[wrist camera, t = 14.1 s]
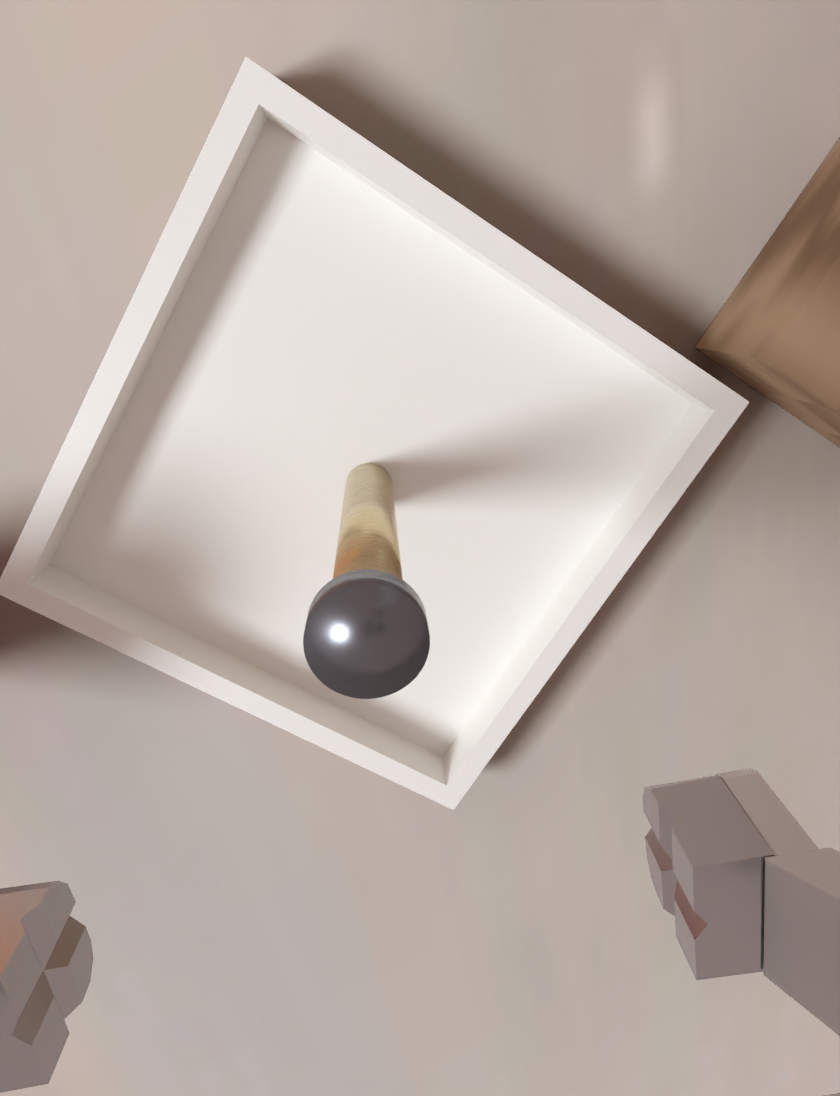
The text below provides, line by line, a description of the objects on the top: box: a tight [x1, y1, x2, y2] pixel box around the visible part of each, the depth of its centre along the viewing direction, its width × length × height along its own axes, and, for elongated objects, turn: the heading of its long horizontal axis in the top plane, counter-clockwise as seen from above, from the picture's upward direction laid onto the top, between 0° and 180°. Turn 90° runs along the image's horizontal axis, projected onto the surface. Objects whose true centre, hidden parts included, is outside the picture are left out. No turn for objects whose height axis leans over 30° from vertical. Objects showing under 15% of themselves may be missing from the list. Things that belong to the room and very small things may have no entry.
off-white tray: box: [0, 57, 749, 810], centre depth 31 cm, size 22×22×3 cm
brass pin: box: [303, 463, 430, 699], centre depth 25 cm, size 3×3×15 cm
